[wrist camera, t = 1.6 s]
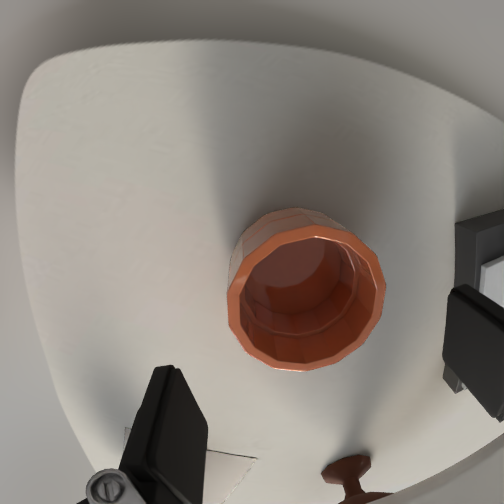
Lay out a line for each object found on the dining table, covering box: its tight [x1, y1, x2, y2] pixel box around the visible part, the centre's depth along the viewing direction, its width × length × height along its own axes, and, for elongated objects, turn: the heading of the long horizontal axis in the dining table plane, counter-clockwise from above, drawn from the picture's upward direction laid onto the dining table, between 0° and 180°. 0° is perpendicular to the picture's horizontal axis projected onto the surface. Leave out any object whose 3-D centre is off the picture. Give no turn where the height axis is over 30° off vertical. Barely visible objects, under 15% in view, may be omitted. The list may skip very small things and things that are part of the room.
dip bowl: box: [227, 207, 386, 372], centre depth 15 cm, size 7×7×5 cm
